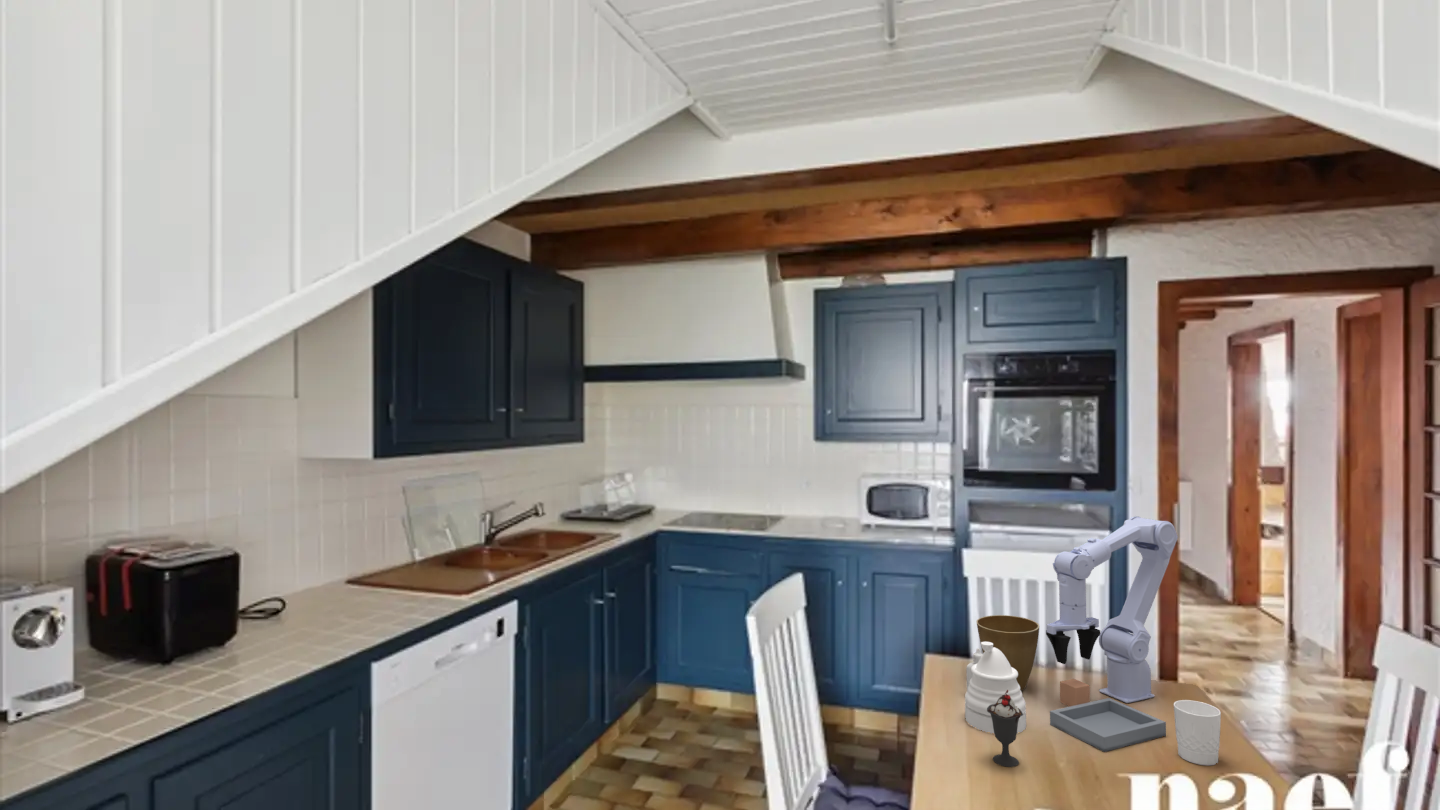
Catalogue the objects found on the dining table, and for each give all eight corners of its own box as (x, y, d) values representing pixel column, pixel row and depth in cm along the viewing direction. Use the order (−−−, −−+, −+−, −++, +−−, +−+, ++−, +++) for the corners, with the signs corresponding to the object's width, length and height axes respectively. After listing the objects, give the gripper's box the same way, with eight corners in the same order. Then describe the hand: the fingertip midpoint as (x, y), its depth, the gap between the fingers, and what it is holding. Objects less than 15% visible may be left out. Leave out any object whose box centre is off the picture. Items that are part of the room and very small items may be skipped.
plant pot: (1008, 671, 192) (1007, 611, 192) (1054, 691, 178) (1052, 626, 178) (965, 680, 186) (963, 619, 186) (1008, 701, 172) (1007, 635, 172)
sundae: (1008, 772, 139) (1006, 695, 139) (981, 758, 145) (979, 683, 145) (1031, 764, 142) (1029, 688, 142) (1003, 750, 148) (1002, 677, 148)
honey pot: (995, 739, 153) (993, 655, 153) (953, 716, 165) (951, 638, 165) (1039, 727, 158) (1037, 646, 158) (995, 706, 170) (994, 630, 170)
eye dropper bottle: (977, 692, 178) (976, 643, 179) (994, 700, 173) (993, 650, 173) (964, 695, 177) (963, 646, 177) (981, 703, 171) (980, 653, 172)
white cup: (1214, 751, 146) (1213, 702, 146) (1227, 770, 139) (1226, 718, 139) (1170, 746, 149) (1169, 698, 149) (1180, 764, 141) (1179, 713, 141)
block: (1074, 699, 173) (1073, 678, 173) (1089, 706, 169) (1089, 685, 169) (1060, 702, 172) (1059, 681, 172) (1075, 709, 167) (1075, 688, 167)
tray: (1109, 710, 166) (1108, 697, 166) (1166, 735, 153) (1165, 722, 153) (1050, 724, 160) (1049, 711, 160) (1104, 752, 147) (1104, 737, 147)
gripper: (1063, 610, 164) (1064, 670, 164) (1109, 604, 169) (1110, 661, 169) (1039, 603, 171) (1040, 660, 171) (1084, 597, 176) (1085, 652, 176)
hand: (1073, 660), depth 170 cm, fingers open, 7 cm apart
